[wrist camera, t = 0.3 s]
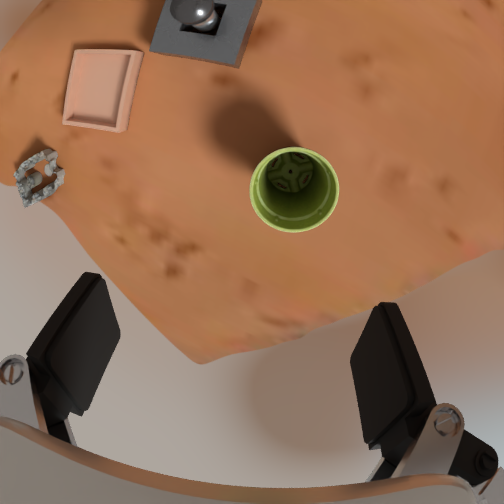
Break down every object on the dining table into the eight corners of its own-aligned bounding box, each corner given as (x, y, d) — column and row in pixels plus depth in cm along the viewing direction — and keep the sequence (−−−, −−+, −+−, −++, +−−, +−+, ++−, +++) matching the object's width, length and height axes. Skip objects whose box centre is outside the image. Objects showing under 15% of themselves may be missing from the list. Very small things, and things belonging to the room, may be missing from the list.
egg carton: (56, 142, 35) (41, 149, 32) (71, 183, 39) (57, 193, 35) (21, 165, 37) (6, 172, 33) (35, 201, 41) (21, 210, 37)
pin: (201, 11, 25) (177, -14, 17) (231, 15, 26) (217, -10, 17) (191, 37, 27) (164, 20, 19) (222, 42, 28) (204, 25, 19)
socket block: (185, -10, 24) (174, -22, 19) (262, 2, 25) (260, -11, 20) (163, 55, 29) (149, 51, 24) (238, 68, 30) (234, 64, 25)
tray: (84, 50, 27) (75, 49, 25) (144, 52, 28) (136, 50, 26) (71, 121, 33) (62, 124, 31) (127, 129, 34) (118, 132, 32)
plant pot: (242, 185, 38) (234, 210, 31) (273, 122, 33) (274, 131, 26) (303, 214, 40) (311, 245, 32) (337, 156, 35) (355, 174, 28)
